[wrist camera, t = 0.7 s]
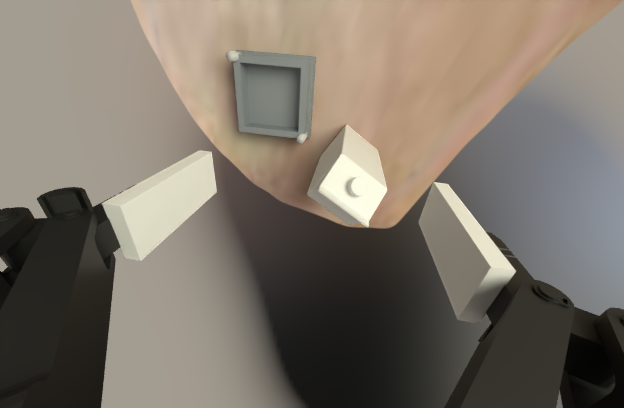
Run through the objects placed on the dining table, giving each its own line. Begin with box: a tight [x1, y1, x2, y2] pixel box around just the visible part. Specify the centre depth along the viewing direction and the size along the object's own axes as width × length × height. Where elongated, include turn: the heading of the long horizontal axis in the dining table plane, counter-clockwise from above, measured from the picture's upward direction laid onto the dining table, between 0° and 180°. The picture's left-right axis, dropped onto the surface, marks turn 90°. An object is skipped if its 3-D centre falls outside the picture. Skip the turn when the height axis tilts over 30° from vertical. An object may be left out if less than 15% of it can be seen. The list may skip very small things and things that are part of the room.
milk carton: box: [307, 125, 387, 227], centre depth 34 cm, size 7×7×19 cm
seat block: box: [226, 50, 316, 144], centre depth 37 cm, size 12×12×5 cm
